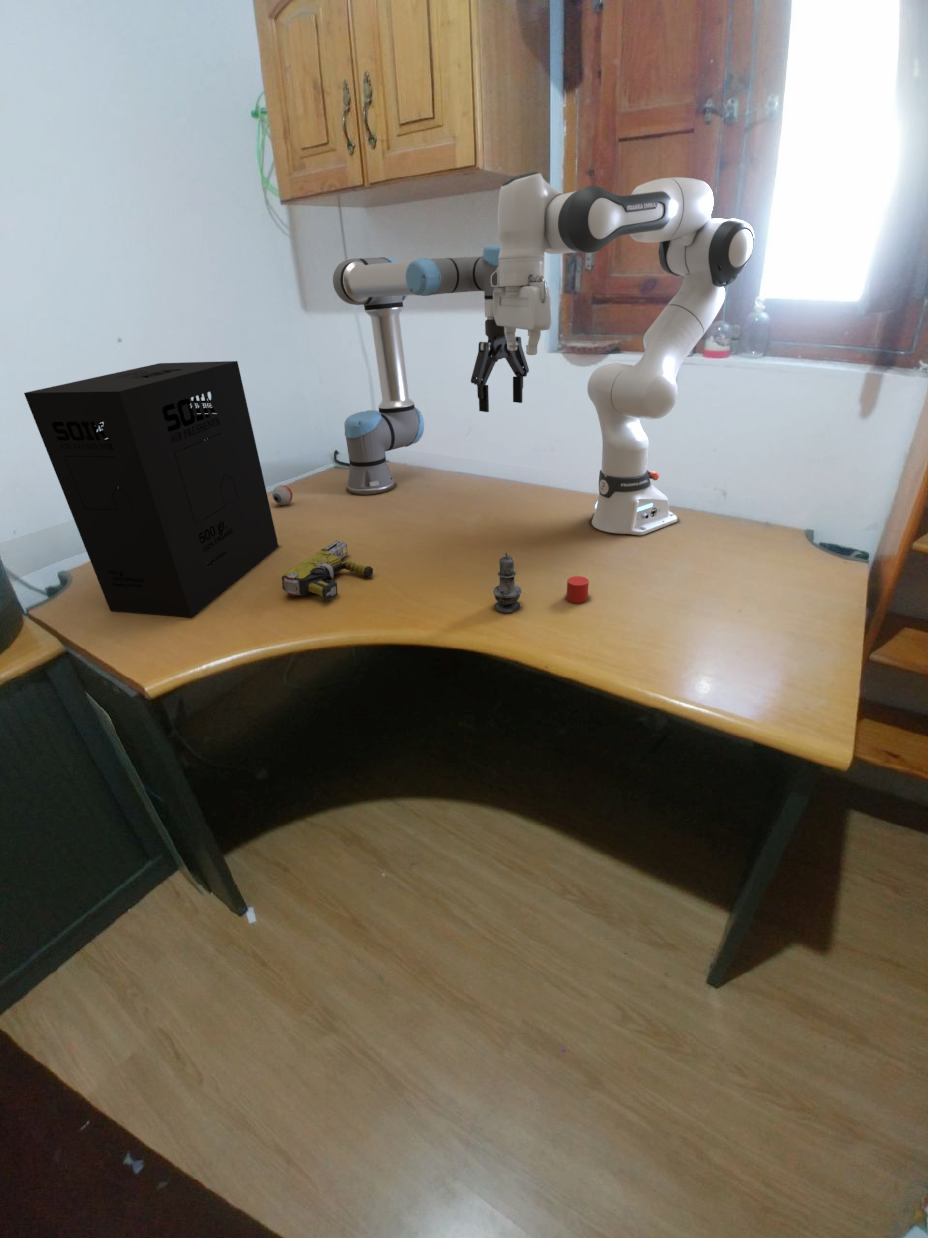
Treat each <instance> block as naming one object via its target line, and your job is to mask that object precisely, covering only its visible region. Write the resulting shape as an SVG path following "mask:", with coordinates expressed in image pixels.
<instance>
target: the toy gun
mask: <svg viewBox="0 0 928 1238" xmlns="http://www.w3.org/2000/svg"><path fill="white" fill-rule="evenodd" d="M345 548H348V543H347V542H346V541H343V540H342V541H341V540H339V539H338V540H335V541H334V542H333V543H331V544H330V545H327V546H326V547H325V548H321V549H320V550H318V551H317V552H316V553H314V554H312V555H311V556H310V557H307V559H305V560H304V561H302V562H300V563H299V564H298V565H296V566H294V567H293V568H291V569H290V570H288V571H287V572H285V573H284V574H282V576H281V585H282V586H281V587H282V590H283V591H284V592H285V593H287V596H292V597H295V596H302V597H303V596H307V595H310V594H315V595H318V596H320V597H322V601H323V602H325V603H327V602H328V601H330V600H332V599H333V598H335V597H337V596H338V594H339V593H338V582H337V581H336V580H334V578H335V577H334V575H336V574H337V573H340V572H342V571H343V570H346V571H349V572H353V573H355V574H358V575H361V576H364V577H366V578H370V577H372V576H373V575H374V569H373V567H372V566H370V565H365V564H361V563H359V562H357V561H352V560H349V559H347V560H345V561H344V562H342V560H343V558H344V557H347V556H348V554H349V553H348V549H346V552H344V549H345Z"/></svg>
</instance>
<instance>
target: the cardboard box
mask: <svg viewBox="0 0 928 1238" xmlns="http://www.w3.org/2000/svg"><path fill="white" fill-rule="evenodd" d="M209 393H210V397H209V395H208V394H209ZM23 394H24V397H25V399H26V402H27V405H28V407H29V410H30V412H31V414H32V418H33V420H34V423H35V425H36V427H37V430H38V431H39V432H38V433H39V435H40V437H41V440H42V442H43V445H44V447H45V450H46V452H47V455H48V457H49V460H50V463H51V465H52V467H53V470H54V473H55V475H56V478H57V480H58V483H59V486H60V488H61V490H62V493H63V495H64V498H65V501H66V503H67V505H68V509H69V510H70V513H71V516H72V518H73V520H74V523H75V525H76V528H77V532H78V533H79V536H80V538H81V541H82V544H83V546H84V548H85V551H86V554H87V555H88V558H89V561H90V563H91V566H92V568H93V571H94V574H95V576H96V579H97V581H98V584H99V587H100V589H101V591H102V594H103V597H104V598H105V601H106V603H107V607H108V609H109V611H110V612H119V613H120V612H122V613H133V614H146V615H157V616H160V615H161V616H170V617H171V616H172V617H183V618H193V617H194V616H195V615H196V614H197V613H199V612H200V611H202V610H203V609H204V608H205V607H206V606H208V605H209V604H210V603H211V602H213V600H214V599H216V598H217V597H218V596H219V595H221V594H222V593H223V592H225V591H226V590H227V589H228V588H230V586H232V585H233V584H234V583H235V582H237V581H238V580H239V579H240V578H242V577H243V576H244V575H246V573H248V572H249V571H250V570H252V568H254V567H256V565H258V564H259V563H260V562H262V560H264V559H265V558H266V557H267V556H268V555H270V554H271V553H273V551H275V550H276V549H277V548H279V542H278V537H277V533H276V529H275V524H274V520H273V515H272V510H271V505H270V502H269V497H268V493H267V487H266V483H265V479H264V474H263V471H262V466H261V461H260V457H259V452H258V447H257V444H256V439H255V434H254V429H253V425H252V421H251V417H250V416H251V415H250V411H249V408H248V403H247V398H246V394H245V388H244V385H243V379H242V376H241V371H240V367H239V361H238V360H227V361H226V360H225V361H224V360H223V361H189V362H188V361H187V362H159V363H155V364H149V365H145V366H140V367H136V368H131V369H126V370H123V371H117V372H114V373H113V372H112V373H109V374H104V375H100V376H95V377H90V378H86V379H81V380H77V381H72V382H68V383H62V384H58V385H54V386H53V385H52V386H49V387H44V388H40V389H35V390H32V391H31V390H30V391H26V392H23ZM197 397H198V398H197ZM192 398H193V399H192ZM202 398H203V399H204V400H202Z"/></svg>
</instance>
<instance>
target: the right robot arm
mask: <svg viewBox="0 0 928 1238" xmlns="http://www.w3.org/2000/svg"><path fill="white" fill-rule="evenodd" d="M497 202H498V203H497V235H498V238H499V245H500V252H499V257H498V259H500V260H498V262H499V266H498V267H497V269H496V271H495V272H494V273H493V274H492V275H491V286H492V287H495V288H494V290H493V308H494V319H495V322H496V324H497V326H503V327H504V333H505V337H506V340H507V349H508V350H509V351H516V350H517V349H518V347H517V345H518V341H516V337H517V336H516V333H517V329H519V330H526V331H527V336H528V341H527V344H526V345H525V353H526V355H528V356H536V355H537V354H538V345H539V342H540V339H541V333H542V332H543V331H549V330H550V329H551V326H552V322H553V317H552V316H553V315H552V311H553V310H552V297H551V295H552V294H551V290H550V288H549V287H548V284H547V282H546V280H545V254H549V255H559V254H560V255H562V254H572V253H573V254H574V253H585V254H586V253H587V254H590V253H595V252H598V251H600V250H602V249H604V248H605V247H606V246H607V245H608V244H610V243H611V242H612V241H614V240H615V239H617V238H619V237H622V236H628V235H629V236H630V238H631V239H632V240H633V241H635V242H639V243H646V244H647V243H649V244H651V243H652V244H653V243H655V244H656V243H659V245H658V261H659V265H660V267H661V269H662V270H663V271H665V272H666V273H668V274H670V275H673V276H676V277H679V276H680V277H681V276H683V277H684V278H683V282H682V284H681V286H680V288H679V290H678V291H677V293H676V294H675V295H674V296H673V297H672V298H671V300H670V301H669V302H668V303H667V304H666V306H665V307H664V308H663V310H662V311H661V312H660V313H659V315H658V316H657V317H656V319H655V320H654V321H653V322H652V323H651V324H650V326H649V328H648V329H647V330H646V332H645V334H644V335H643V340H642V342H643V348H644V352H643V354H642V356H641V358H640V359H639V360H638V362H637V363H635V364H634V365H633V364H625V363H620V362H615V363H614V362H613V363H607V364H604V365H601V366H597V368H595V369H594V371H593V372H591V374H590V376H589V378H588V380H587V381H588V382H587V395H588V398H589V399H590V401H591V402H592V404H593V406H594V408H595V411H596V414H597V417H598V418H597V419H598V421H599V427H600V432H601V440H602V447H601V448H602V449H601V450H602V451H601V468H600V470H599V474H598V492H599V493H598V498H597V501H596V503H595V505H594V509H595V511H594V514H593V517H592V520H591V525H592V526H593V527H594V528H595V529H597V530H599V531H601V532H605V533H611V534H623V535H625V534H626V535H632V536H633V535H634V536H645V535H646V534H650V533H652V532H654V531H657V530H660V529H662V528H665V527H668V526H670V525H672V524H675V523H677V522H678V516H677V515H676V514H675V513H674V512H672V511H670V503H669V502H670V501H669V498H668V497H667V496H666V495H665V494H664V493H663V492H661V491H660V490H659V489H658V488H656V487H655V486H654V485H652V483H651V480H653V481H658V479H659V478H660V473H659V472H657V471H654V470H651V471H649V470H648V469H647V466H648V458H649V457H648V455H649V446H650V441H649V437H648V435H647V434H646V432H645V431H644V429H643V427H642V424H641V420H658V419H662V418H664V417H666V416H667V415H669V413H670V412H671V411H672V410H673V408H674V406H675V405H676V402H677V399H678V395H679V394H678V393H679V389H678V388H679V387H678V383H677V377H678V374H679V371H680V369H681V368H682V367H681V366H682V365H683V363H684V362H685V360H686V359H687V358H688V356H689V354H690V353H691V352H692V350H693V349H694V348H695V346H696V345H697V344H698V343H699V341H700V340H701V339H702V338H703V336H704V335H705V334H706V333H707V331H708V329H710V327H711V325H712V324H713V322H714V320H716V319H715V318H716V317H717V316H718V313H719V312H720V310H721V309H722V306H723V304H724V302H725V298H726V291H725V287H726V286H728V285H731V284H732V283H733V282H734V281H735V280H736V279H737V277H738V275H739V274H740V273H742V271H743V270H744V269H745V267H746V265H747V264H748V263H749V261H750V259H751V258H752V254H753V253H754V252H753V251H754V248H755V233H754V230H753V227H752V225H750V224H749V223H748V222H746V221H745V220H741V219H737V218H730V219H729V218H728V219H725V218H712V215H711V214H712V213H713V212H712V211H713V207H714V195H713V191H712V189H711V187H710V186H709V184H708V183H707V182H705V181H704V180H701V179H698V178H692V177H682V176H678V177H675V176H674V177H664V178H663V177H662V178H657V179H654V180H650V181H647V182H644V183H642V184H640V185H638V186H636V187H635V188H634V189H633V191H632V192H631V193H630V194H625V195H619V194H615V193H613V192H612V191H610V190H608V189H606V188H604V187H601V186H599V185H589V186H586V187H583V188H581V189H578V190H575V191H574V190H573V191H570V192H566V193H563V192H562V191H559V190H557V189H556V188H554V187H553V186H552V185H550V184H549V183H548V182H547V181H546V180H545V178H543V175H542V173H541V172H538V171H529V172H525V173H522V174H519V175H514V176H512V177H508V178H507V179H506V180H504V181H503V183H501V186H500V189H499V193H498V201H497Z"/></svg>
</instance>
